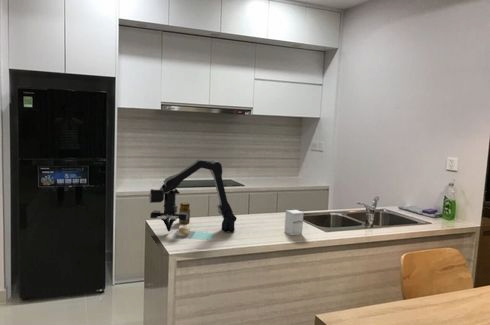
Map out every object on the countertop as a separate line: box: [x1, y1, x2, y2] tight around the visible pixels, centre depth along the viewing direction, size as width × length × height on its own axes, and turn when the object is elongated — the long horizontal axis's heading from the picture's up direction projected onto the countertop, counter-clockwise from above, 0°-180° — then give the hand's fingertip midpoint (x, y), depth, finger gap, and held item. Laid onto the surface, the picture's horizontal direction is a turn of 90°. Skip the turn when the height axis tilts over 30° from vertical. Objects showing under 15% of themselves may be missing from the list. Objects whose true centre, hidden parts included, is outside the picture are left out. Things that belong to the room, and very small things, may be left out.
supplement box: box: [284, 209, 304, 237], centre depth 217 cm, size 7×7×13 cm
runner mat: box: [171, 230, 215, 241], centre depth 203 cm, size 20×12×1 cm, turn 87°
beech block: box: [177, 224, 191, 236], centre depth 203 cm, size 5×5×4 cm
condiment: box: [176, 202, 193, 225], centre depth 224 cm, size 7×8×12 cm
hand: (169, 231), depth 204 cm, fingers closed
